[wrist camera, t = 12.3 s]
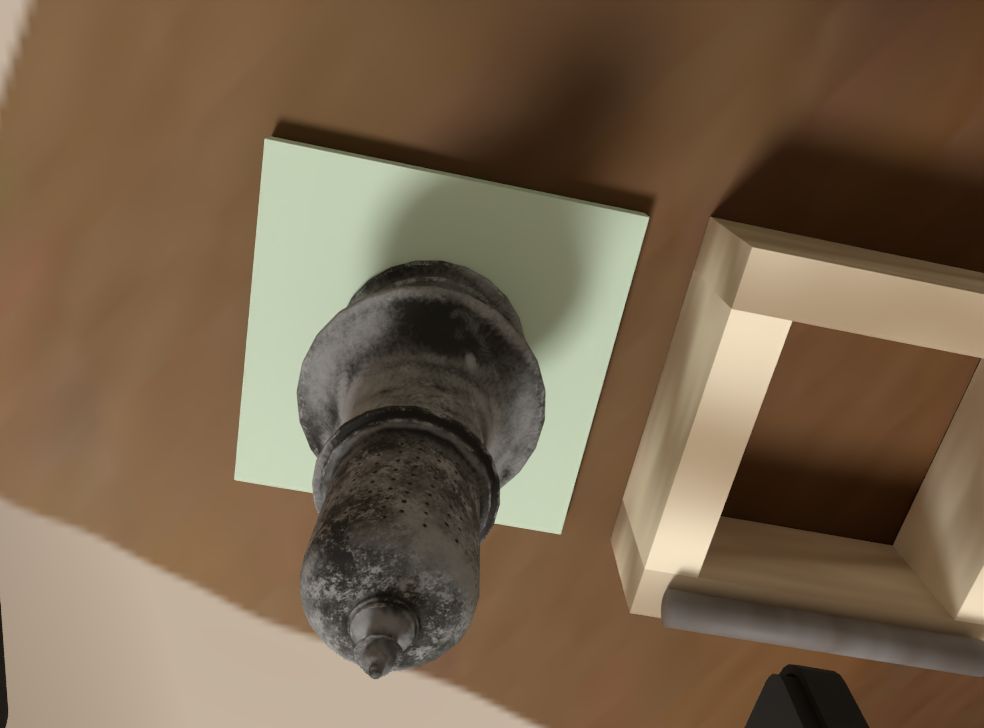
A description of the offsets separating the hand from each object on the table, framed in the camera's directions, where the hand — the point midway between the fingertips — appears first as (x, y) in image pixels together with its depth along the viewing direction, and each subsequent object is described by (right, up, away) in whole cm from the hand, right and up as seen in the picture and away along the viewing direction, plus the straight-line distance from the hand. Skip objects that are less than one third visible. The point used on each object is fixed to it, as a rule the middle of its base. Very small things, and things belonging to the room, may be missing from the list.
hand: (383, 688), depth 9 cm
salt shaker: (0, +4, +12) cm, 13 cm away
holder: (+11, +2, +14) cm, 18 cm away
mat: (-1, +4, +13) cm, 13 cm away
